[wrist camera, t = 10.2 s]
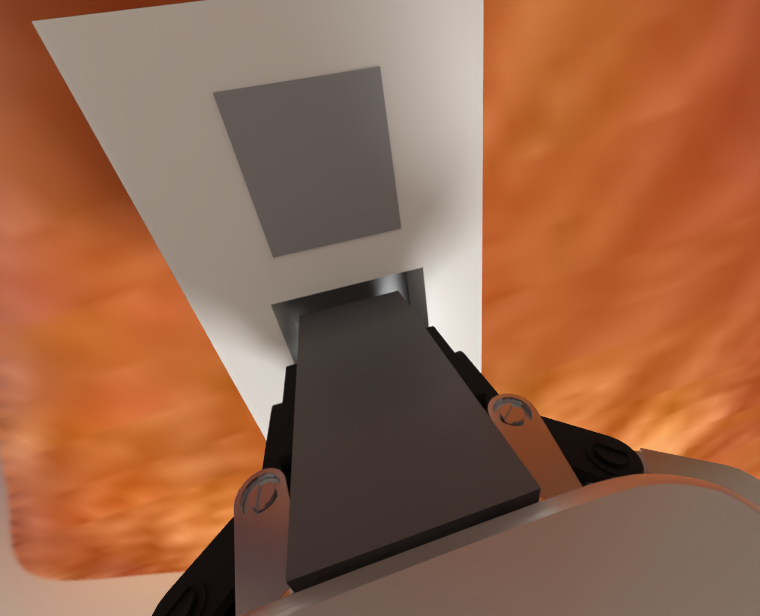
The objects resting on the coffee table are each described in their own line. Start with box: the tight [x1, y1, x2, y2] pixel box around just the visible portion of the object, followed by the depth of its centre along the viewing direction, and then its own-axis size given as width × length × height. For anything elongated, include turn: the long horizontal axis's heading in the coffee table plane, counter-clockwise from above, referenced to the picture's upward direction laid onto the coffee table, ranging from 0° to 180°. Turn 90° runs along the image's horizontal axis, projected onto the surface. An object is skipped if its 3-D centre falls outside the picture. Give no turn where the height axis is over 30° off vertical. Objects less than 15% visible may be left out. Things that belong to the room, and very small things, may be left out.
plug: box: [286, 291, 541, 593], centre depth 10 cm, size 4×4×9 cm
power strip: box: [31, 0, 483, 441], centre depth 15 cm, size 12×24×5 cm, turn 10°
